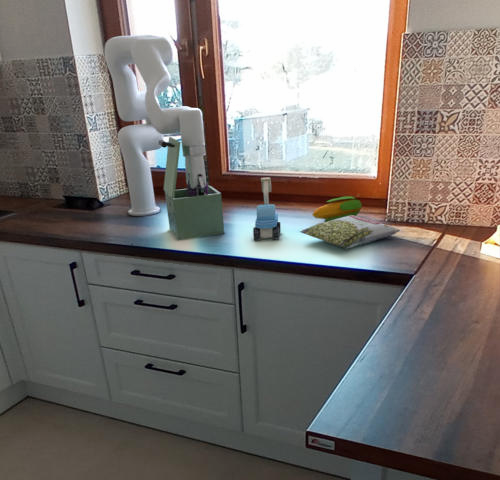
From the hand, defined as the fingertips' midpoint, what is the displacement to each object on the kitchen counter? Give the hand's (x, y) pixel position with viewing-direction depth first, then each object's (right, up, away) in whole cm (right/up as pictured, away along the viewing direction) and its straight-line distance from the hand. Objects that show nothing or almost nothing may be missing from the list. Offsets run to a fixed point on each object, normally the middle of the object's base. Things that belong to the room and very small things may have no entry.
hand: (199, 205), depth 201 cm
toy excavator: (+24, -11, -4) cm, 26 cm away
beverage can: (0, -3, +2) cm, 4 cm away
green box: (-1, -8, +4) cm, 9 cm away
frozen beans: (+49, -16, -14) cm, 54 cm away
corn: (+49, -3, +7) cm, 49 cm away
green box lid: (-8, +10, -9) cm, 15 cm away
